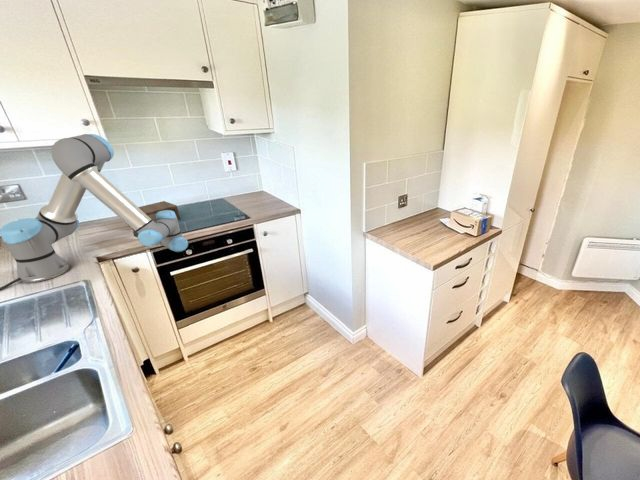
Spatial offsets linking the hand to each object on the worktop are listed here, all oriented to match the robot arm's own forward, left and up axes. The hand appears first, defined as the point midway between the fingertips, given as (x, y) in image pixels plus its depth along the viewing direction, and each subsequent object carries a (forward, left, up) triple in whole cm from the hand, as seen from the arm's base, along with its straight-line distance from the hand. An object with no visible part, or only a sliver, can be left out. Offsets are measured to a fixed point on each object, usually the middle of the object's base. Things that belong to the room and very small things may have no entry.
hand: (139, 226), depth 168 cm
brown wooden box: (+16, +20, -7) cm, 26 cm away
